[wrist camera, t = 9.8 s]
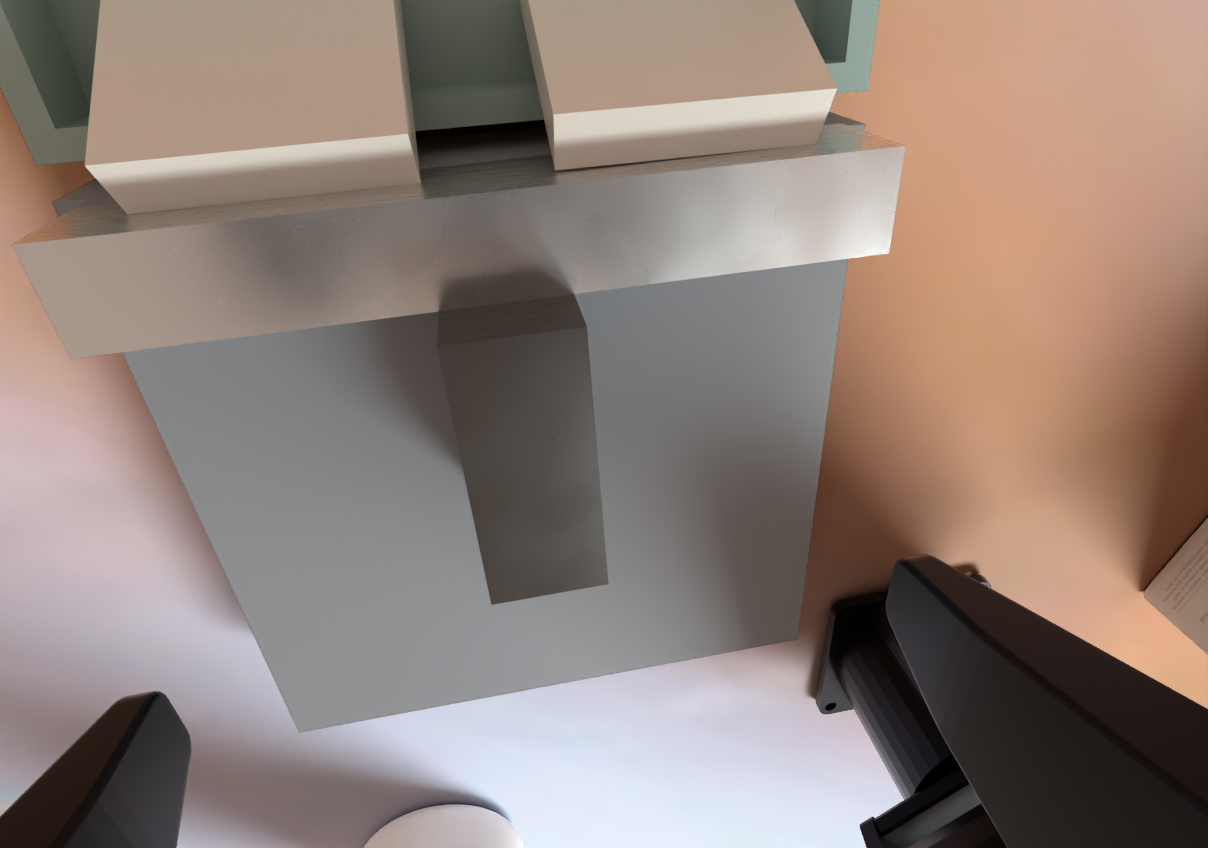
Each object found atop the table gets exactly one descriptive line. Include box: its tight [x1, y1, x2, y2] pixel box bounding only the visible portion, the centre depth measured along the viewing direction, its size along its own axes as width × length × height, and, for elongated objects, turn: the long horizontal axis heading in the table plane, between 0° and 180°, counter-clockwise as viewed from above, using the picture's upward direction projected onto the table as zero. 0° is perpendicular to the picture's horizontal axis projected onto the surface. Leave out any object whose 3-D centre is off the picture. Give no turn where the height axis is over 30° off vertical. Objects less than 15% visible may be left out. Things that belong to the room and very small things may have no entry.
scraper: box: [11, 124, 905, 605], centre depth 15 cm, size 8×15×4 cm, turn 94°
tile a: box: [519, 0, 837, 170], centre depth 14 cm, size 5×5×1 cm
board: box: [52, 112, 865, 733], centre depth 20 cm, size 16×16×3 cm
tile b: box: [85, 0, 421, 215], centre depth 13 cm, size 5×5×1 cm
